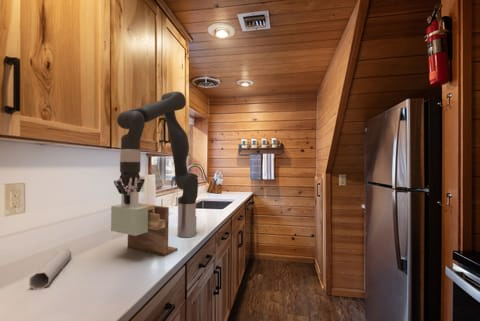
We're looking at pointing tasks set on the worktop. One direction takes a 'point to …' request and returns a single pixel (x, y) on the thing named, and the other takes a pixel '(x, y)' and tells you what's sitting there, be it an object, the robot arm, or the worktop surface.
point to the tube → (50, 269)
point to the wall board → (154, 234)
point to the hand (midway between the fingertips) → (129, 203)
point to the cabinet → (131, 216)
